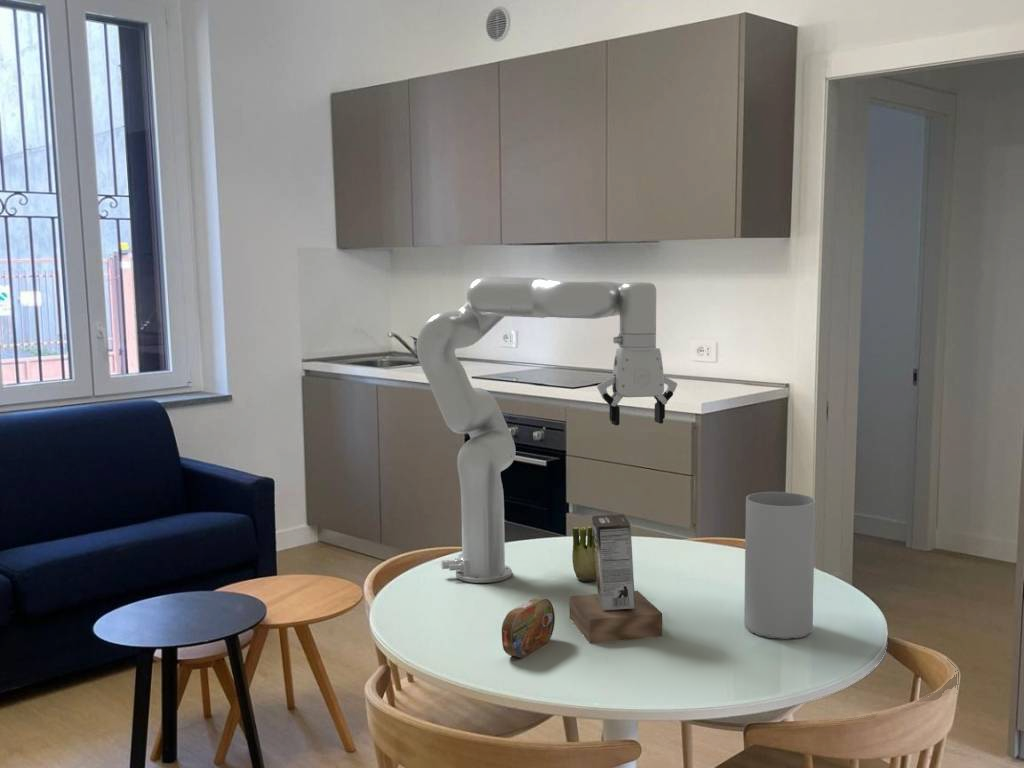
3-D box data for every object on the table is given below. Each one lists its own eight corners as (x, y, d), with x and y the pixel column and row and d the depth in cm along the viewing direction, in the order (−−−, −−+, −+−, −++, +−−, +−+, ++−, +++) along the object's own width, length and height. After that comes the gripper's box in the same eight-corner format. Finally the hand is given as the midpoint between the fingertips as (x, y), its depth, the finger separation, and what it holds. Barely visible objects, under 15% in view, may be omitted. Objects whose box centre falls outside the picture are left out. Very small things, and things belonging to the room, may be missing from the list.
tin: (513, 664, 176) (513, 617, 175) (498, 661, 178) (497, 614, 177) (556, 637, 189) (556, 593, 188) (541, 634, 191) (541, 591, 190)
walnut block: (589, 645, 186) (589, 619, 185) (569, 620, 199) (569, 595, 199) (662, 639, 189) (662, 613, 188) (637, 615, 202) (637, 590, 202)
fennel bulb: (569, 579, 225) (569, 526, 223) (585, 574, 228) (585, 522, 227) (589, 585, 220) (588, 531, 219) (604, 580, 224) (604, 527, 222)
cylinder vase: (730, 623, 195) (732, 495, 193) (783, 614, 200) (786, 489, 198) (771, 644, 184) (774, 509, 181) (826, 634, 189) (829, 502, 186)
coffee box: (596, 597, 198) (591, 515, 197) (629, 594, 198) (624, 513, 197) (601, 611, 189) (596, 526, 188) (636, 608, 189) (631, 523, 188)
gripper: (604, 344, 206) (603, 428, 207) (683, 342, 210) (682, 424, 211) (592, 341, 213) (592, 422, 215) (669, 340, 217) (668, 419, 219)
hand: (637, 423), depth 213 cm, fingers open, 9 cm apart
